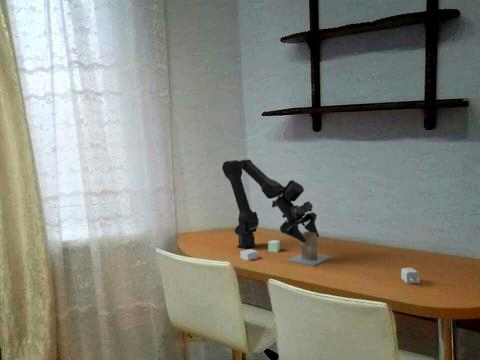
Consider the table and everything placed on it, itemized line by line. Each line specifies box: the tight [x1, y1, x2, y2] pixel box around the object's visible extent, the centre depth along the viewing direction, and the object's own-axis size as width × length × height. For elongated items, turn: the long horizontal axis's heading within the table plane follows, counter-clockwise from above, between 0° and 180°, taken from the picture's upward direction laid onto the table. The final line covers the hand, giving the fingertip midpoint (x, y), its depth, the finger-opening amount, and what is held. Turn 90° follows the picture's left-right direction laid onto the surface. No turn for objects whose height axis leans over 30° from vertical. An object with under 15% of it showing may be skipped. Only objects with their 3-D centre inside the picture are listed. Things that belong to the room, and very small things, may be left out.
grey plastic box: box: [240, 248, 259, 261], centre depth 178 cm, size 5×5×3 cm
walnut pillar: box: [300, 230, 318, 260], centre depth 171 cm, size 4×4×10 cm
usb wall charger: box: [400, 267, 420, 285], centre depth 143 cm, size 4×7×4 cm, turn 2°
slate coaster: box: [287, 253, 332, 267], centre depth 172 cm, size 12×12×1 cm
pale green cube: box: [267, 239, 281, 253], centre depth 187 cm, size 4×4×4 cm
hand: (311, 239), depth 170 cm, fingers open, 9 cm apart
